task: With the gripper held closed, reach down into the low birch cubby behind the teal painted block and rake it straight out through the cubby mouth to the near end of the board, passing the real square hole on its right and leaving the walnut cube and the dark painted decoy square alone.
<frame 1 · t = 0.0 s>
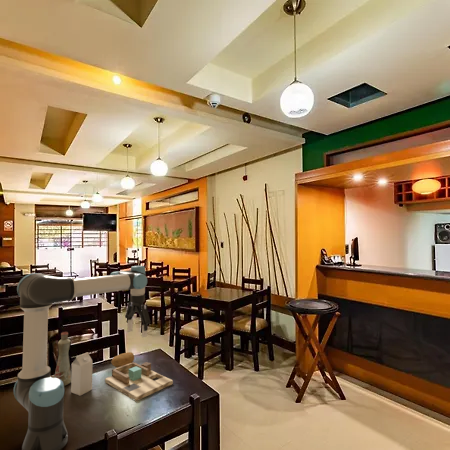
hand: (137, 334, 164), 28 cm above the table, fingers open, 13 cm apart
bottle: (62, 384, 165), on the table
walnut cube: (146, 370, 177), point 2 cm above the table, touching cubby board
cubby board: (138, 383, 167), on the table
potato: (122, 367, 187), on the table
teal block: (134, 378, 168), point 2 cm above the table, touching cubby board
milk carton: (81, 391, 157), on the table
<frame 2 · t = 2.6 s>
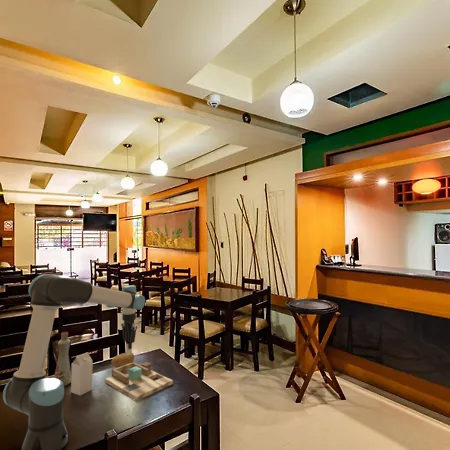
hand: (128, 354, 173), 13 cm above the table, fingers closed
nothing on the table moved.
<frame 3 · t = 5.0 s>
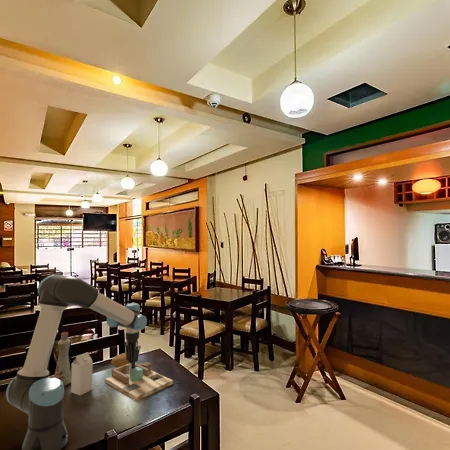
hand: (131, 373, 170), 3 cm above the table, fingers closed
teal block: (136, 378, 168), point 2 cm above the table, touching cubby board, gripper
everything else where it was.
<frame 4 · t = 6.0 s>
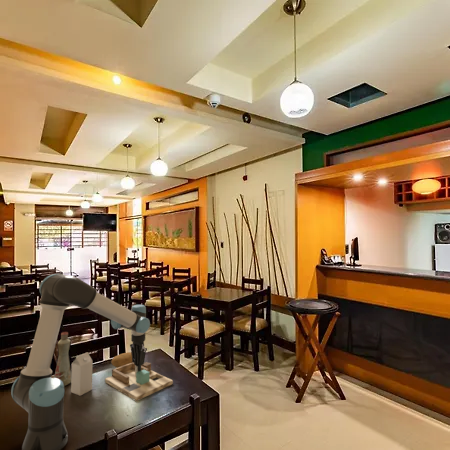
hand: (137, 376, 167), 3 cm above the table, fingers closed
teal block: (142, 381, 164), point 2 cm above the table, touching gripper
everything else where it was.
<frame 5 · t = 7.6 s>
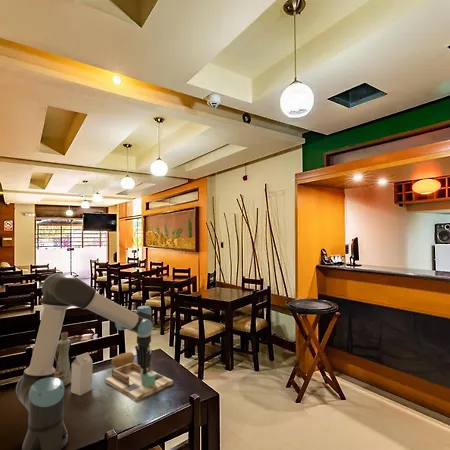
hand: (143, 379, 163), 4 cm above the table, fingers closed
teal block: (148, 384, 161), point 2 cm above the table, touching cubby board, gripper
everything else where it was.
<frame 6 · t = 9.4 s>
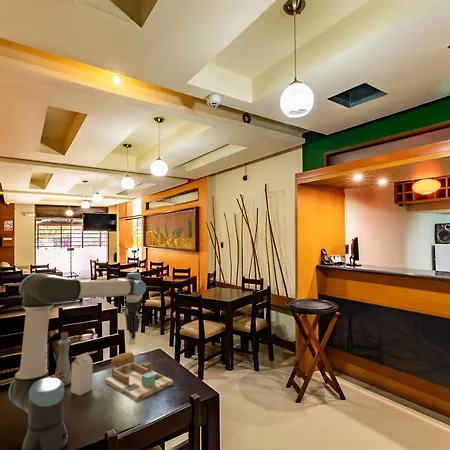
hand: (131, 344, 167), 21 cm above the table, fingers closed
teal block: (148, 384, 161), point 2 cm above the table, touching cubby board
everything else where it was.
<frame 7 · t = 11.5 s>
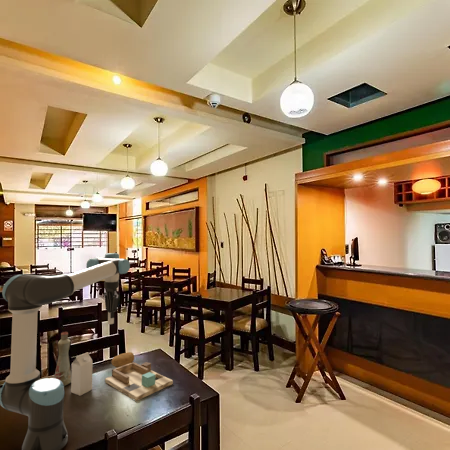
hand: (110, 323, 168), 32 cm above the table, fingers closed
nothing on the table moved.
at the end: teal block inside the target area (0.7 cm from its centre), point 2.0 cm above the table; teal block tilted 0° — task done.
